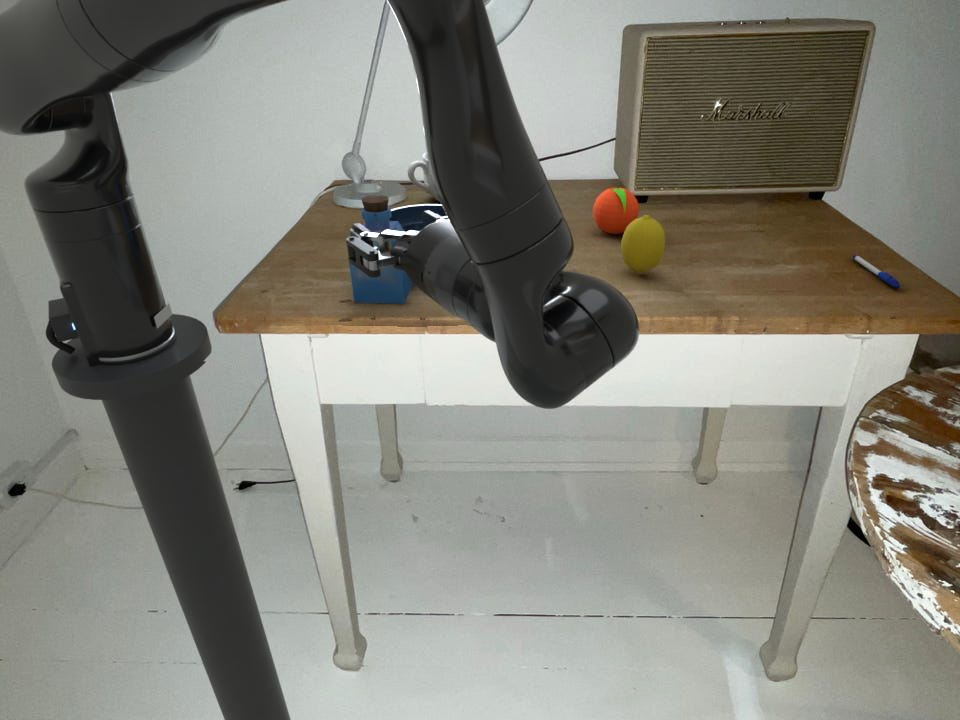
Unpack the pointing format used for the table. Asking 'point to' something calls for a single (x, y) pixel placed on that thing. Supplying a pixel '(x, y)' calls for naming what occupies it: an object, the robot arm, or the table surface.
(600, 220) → the clementine
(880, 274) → the blue and white marker
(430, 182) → the teacup
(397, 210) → the bowl
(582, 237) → the table surface
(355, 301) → the perfume bottle
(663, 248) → the lemon
